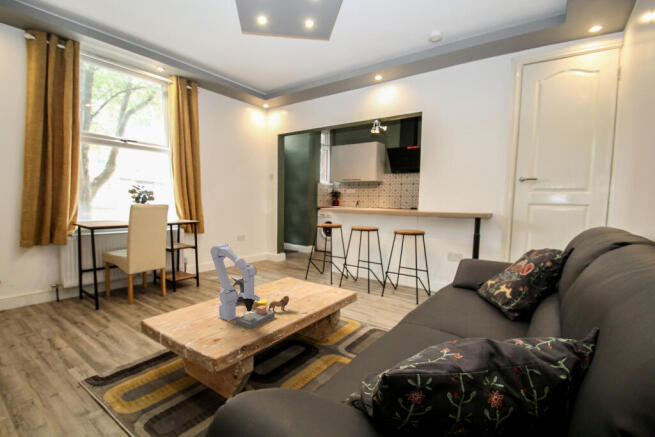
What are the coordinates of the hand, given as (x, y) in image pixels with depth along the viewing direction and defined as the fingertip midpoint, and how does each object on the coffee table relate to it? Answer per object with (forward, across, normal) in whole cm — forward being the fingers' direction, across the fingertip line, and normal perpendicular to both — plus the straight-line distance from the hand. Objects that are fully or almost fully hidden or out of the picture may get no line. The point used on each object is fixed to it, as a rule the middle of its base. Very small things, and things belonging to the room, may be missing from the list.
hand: (249, 311), depth 172 cm
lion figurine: (+8, +2, +24) cm, 26 cm away
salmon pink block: (+5, 0, +10) cm, 11 cm away
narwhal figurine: (+8, -28, +22) cm, 36 cm away
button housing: (+8, 0, +5) cm, 9 cm away
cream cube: (+5, 0, 0) cm, 5 cm away
